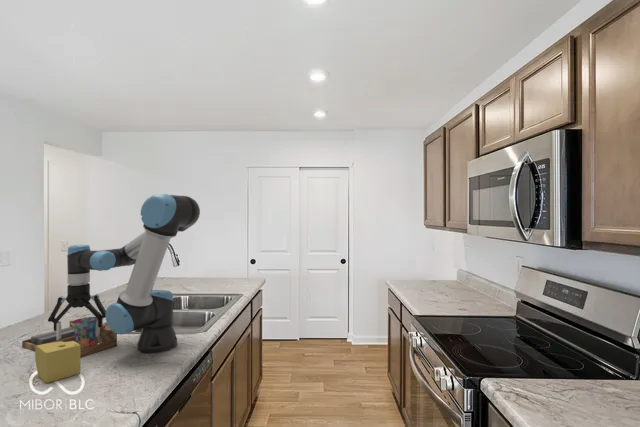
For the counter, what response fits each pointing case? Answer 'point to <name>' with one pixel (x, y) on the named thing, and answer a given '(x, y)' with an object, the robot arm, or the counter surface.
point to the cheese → (57, 360)
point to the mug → (85, 331)
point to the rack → (68, 334)
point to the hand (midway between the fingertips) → (78, 337)
